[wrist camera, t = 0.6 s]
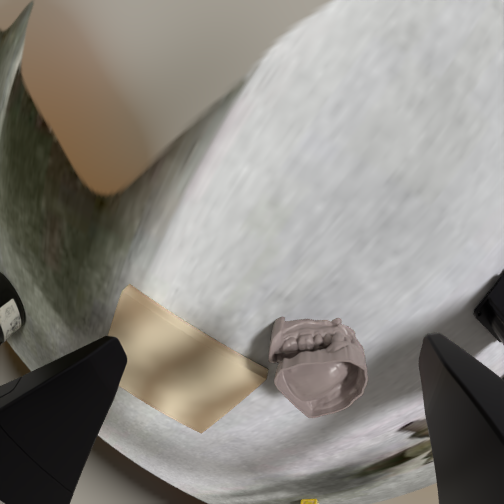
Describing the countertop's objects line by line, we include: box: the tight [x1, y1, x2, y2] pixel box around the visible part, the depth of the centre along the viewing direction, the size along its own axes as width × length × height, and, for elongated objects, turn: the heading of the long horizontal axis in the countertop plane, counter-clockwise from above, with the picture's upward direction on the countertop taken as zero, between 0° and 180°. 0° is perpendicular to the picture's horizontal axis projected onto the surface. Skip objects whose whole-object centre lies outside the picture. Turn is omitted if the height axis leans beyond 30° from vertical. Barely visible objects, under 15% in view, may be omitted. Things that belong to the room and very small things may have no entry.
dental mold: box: [268, 317, 368, 418], centre depth 20 cm, size 8×7×5 cm
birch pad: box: [108, 284, 268, 433], centre depth 26 cm, size 14×14×1 cm
